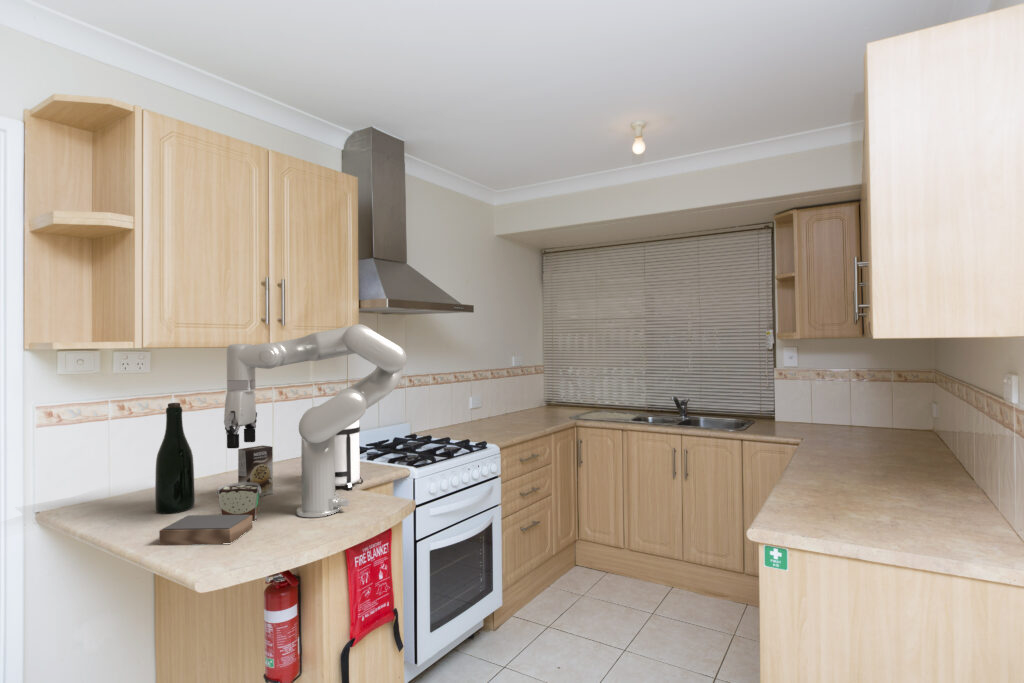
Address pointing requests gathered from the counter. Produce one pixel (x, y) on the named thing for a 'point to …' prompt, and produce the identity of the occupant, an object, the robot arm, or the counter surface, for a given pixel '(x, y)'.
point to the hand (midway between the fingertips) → (241, 445)
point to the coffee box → (256, 467)
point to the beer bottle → (174, 467)
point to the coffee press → (347, 456)
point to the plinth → (205, 529)
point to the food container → (239, 499)
